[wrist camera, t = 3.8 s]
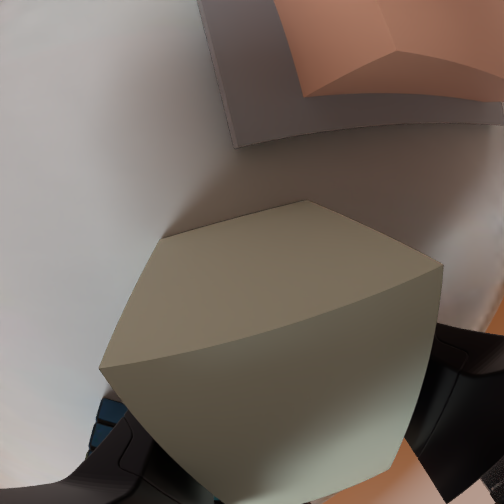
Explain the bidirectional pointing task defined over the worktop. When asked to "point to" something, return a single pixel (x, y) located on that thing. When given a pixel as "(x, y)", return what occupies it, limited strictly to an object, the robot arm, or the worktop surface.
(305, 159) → the worktop surface
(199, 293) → the sage brick
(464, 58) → the brick base
